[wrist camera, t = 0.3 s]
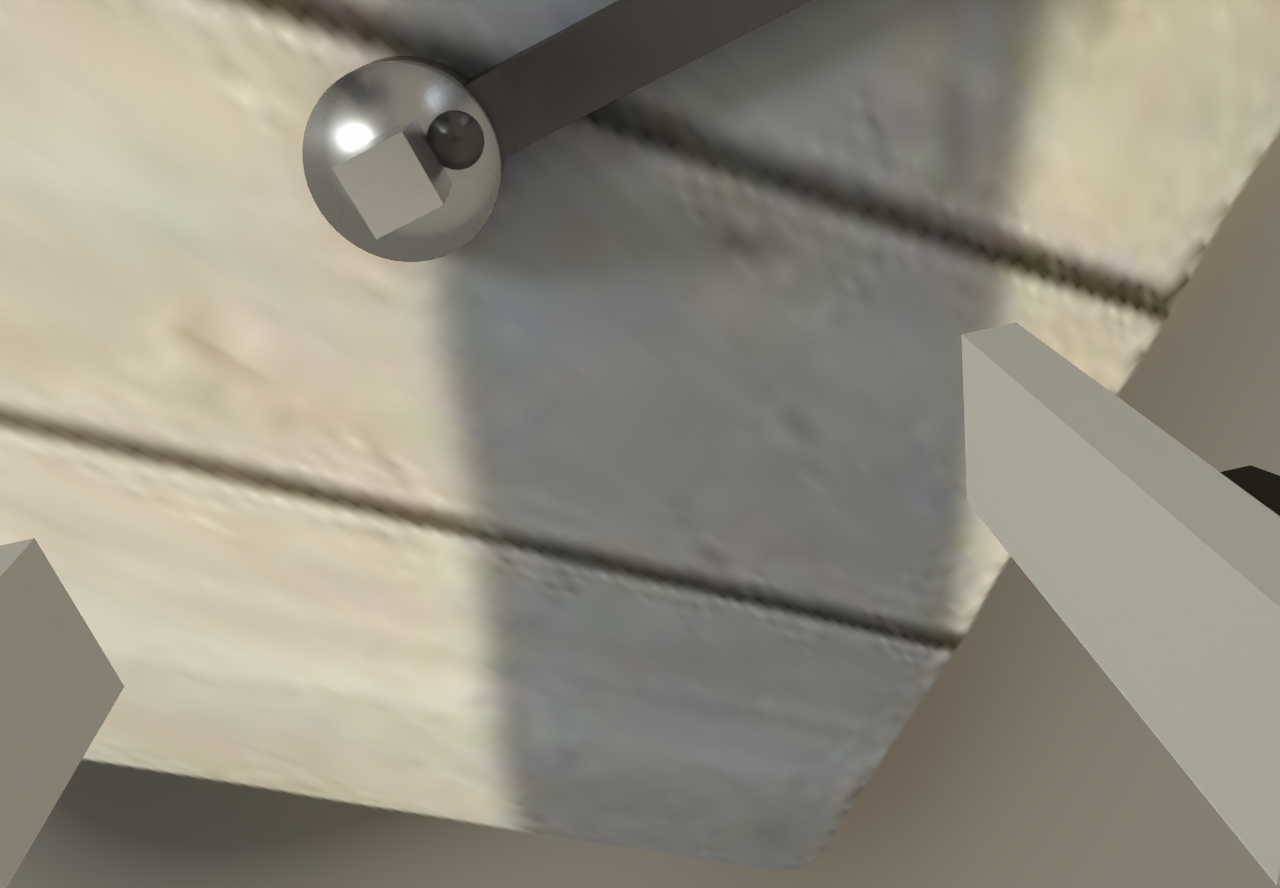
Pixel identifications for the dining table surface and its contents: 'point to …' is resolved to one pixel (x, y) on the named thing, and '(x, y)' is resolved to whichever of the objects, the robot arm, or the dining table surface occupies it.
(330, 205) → the ratchet
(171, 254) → the dining table surface
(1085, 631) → the robot arm
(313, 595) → the dining table surface
